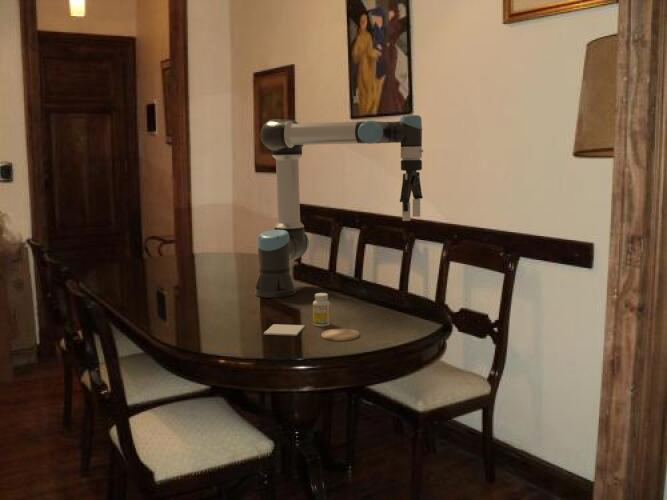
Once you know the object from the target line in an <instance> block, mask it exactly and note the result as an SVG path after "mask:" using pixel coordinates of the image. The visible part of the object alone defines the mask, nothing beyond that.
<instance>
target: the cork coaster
mask: <svg viewBox="0 0 667 500" xmlns="http://www.w3.org/2000/svg"><path fill="white" fill-rule="evenodd" d="M359 337H360V332H359V331H358V330H356V329H351V328H331V329H327V330H324V331H322V332H321V338H322V339H324V340H327V341H334V342H346V341H351V340H352V341H353V340H355V339H356V340H357V339H358V338H359Z"/></svg>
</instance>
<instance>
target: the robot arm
mask: <svg viewBox="0 0 667 500" xmlns="http://www.w3.org/2000/svg"><path fill="white" fill-rule="evenodd" d="M422 125H423V124H422V117H421V116H420V115H418V114H417V115H416V114H414V115H413V114H410V115H409V114H408V115H407V114H406V115H401V116H400V120H399V121H376V120H366V121H365V120H364V121H363V120H362V121H338V122H336V121H335V122H331V121H330V122H305V123H304V122H303V123H301V122H298V121H297V120H293V119H289V118H288V119H279V118H275V119H274V118H273V119H269V120H268V121H266V122H265V123H264V124H263V126H262V127H261V130H260V140H261V142H262V144H263V145H264V146H265V148H267V149H269V150H271V157H272V158H274V159H275V169H276V170H275V172H276V173H275V174H276V195H277V196H276V198H277V202H276V203H277V223H276V224H274V227H273V228H274V229H271V230H267V231H263V232H261V233H260V234H259V235H258V236H257V251H258V252H257V253H258V255H257V256H258V277H257V282H256V284H255V289H254V294H255V296H257V297H259V298H260V297H261V298H268V299H269V298H270V299H271V298H273V299H274V298H287V297H290V296H294V295H295V294H296V285H295V282H294V280H293V277H292V274H291V262H292V261H295V260H298V259H300V258H301V257H303V256H304V255H305V254H306V253H307V251H308V250H309V246H310V240H309V236H308V234H306V232H305V225H304V224H303V223H302V221H301V211H300V210H301V208H300V206H301V205H300V204H301V203H300V202H301V201H300V177H299V175H300V171H299V170H300V169H299V168H300V167H299V161H300V160H299V159H300V158H301V157H302V156H303V147H304V146H307V145H311V146H312V145H313V146H314V145H347V144H348V145H350V144H351V145H352V144H361V145H362V144H369V145H371V144H391V143H393V144H394V143H396V144H397V143H398V144H399V143H400V159H401V161H400V170H401V171H404V172H405V173H403V174H402V184H401V189H400V190H401V191H400V198H399V203H402V205H401V206H402V209H401V211H402V212H401V215H402V216H401V217H402V219H401V220H402V221H403V222H405V221H407V222H410V221H411V202H410V200H411V196H412V197H413V199H412V217H417V218H421V199H423V197H424V196H423V193H422V188H421V187H422V185H421V179H420V175H421V174H420V171H421V170H422V169H423V160H422V157H423V155H422V153H424V149H423V145H422V144H423V140H422V139H423V127H422ZM411 194H412V195H411Z"/></svg>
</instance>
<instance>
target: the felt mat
mask: <svg viewBox="0 0 667 500" xmlns="http://www.w3.org/2000/svg"><path fill="white" fill-rule="evenodd" d="M305 327H306V326H305V325H304V324H277V323H276V324H275V323H274V324H272V325H270V326H269V328H268V329H267V330H265V331H264V332H263V336H264V335H267V336H268V335H269V336H293V337H296V336H298V335H299V334H300V333H301V331H303V329H304V328H305Z"/></svg>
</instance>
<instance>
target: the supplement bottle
mask: <svg viewBox="0 0 667 500" xmlns="http://www.w3.org/2000/svg"><path fill="white" fill-rule="evenodd" d="M328 298H329V294H328V293H326V292H319V293H315V294H314V299H315V300H313V302H312V323H313V325H314V326H315V327H321V328H322V327H327V326H328V327H329V325H330V324H331V302H330V300H328Z"/></svg>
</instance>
